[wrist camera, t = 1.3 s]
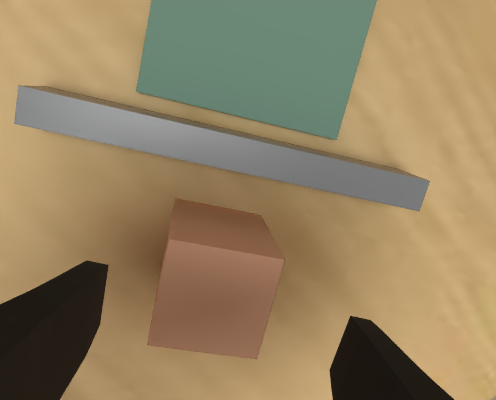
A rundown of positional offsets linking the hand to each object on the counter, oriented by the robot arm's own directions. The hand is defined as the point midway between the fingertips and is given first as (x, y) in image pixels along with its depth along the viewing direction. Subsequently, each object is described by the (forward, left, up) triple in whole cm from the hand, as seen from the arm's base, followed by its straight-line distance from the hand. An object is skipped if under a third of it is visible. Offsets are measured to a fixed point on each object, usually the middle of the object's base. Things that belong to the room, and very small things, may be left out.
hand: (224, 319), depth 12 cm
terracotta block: (-2, 0, -10) cm, 10 cm away
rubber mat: (+10, 0, -10) cm, 14 cm away
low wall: (+4, 0, -10) cm, 11 cm away
